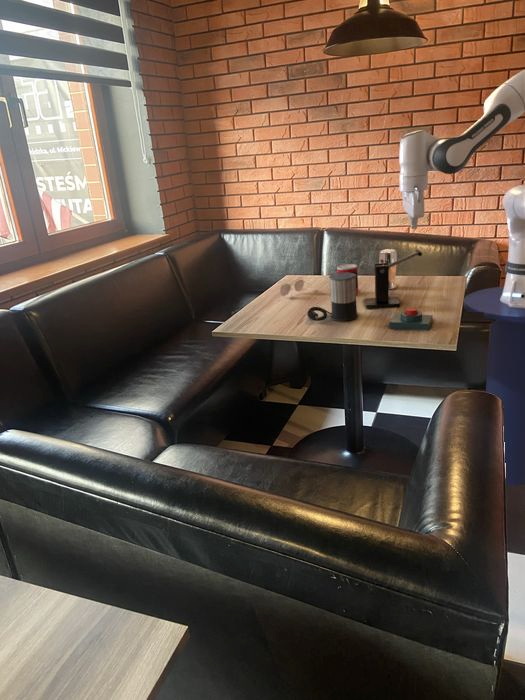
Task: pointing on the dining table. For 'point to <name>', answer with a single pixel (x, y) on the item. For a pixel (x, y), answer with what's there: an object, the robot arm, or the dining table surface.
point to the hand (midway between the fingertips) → (413, 228)
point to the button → (411, 311)
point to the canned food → (349, 271)
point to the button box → (411, 321)
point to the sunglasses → (286, 288)
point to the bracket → (381, 289)
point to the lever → (405, 258)
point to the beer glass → (388, 257)
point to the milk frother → (339, 299)
